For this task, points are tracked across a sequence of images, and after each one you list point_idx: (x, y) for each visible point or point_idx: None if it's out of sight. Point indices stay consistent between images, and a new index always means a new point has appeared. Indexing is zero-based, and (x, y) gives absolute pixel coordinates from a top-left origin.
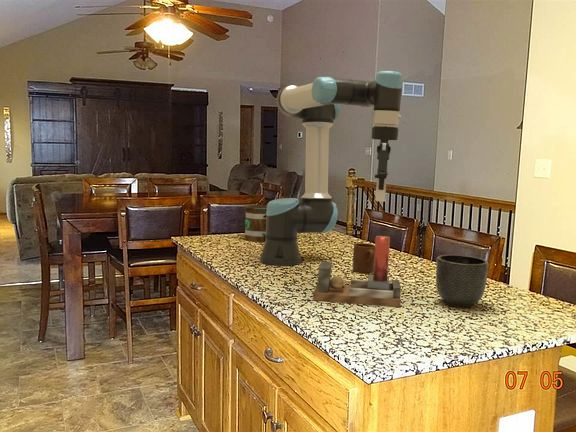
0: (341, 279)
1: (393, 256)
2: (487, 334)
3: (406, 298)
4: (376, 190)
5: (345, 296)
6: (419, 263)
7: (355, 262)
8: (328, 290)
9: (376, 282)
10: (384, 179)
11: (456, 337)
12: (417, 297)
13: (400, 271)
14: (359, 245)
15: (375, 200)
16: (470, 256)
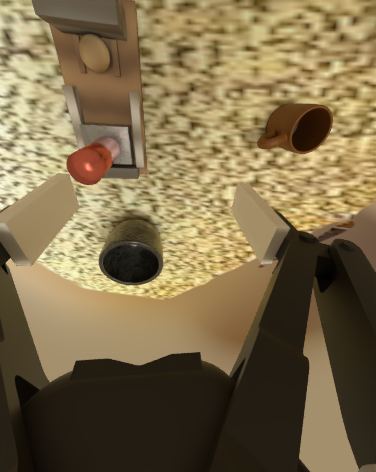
0: (88, 64)
1: (370, 182)
2: None
3: (137, 181)
4: (34, 192)
5: (63, 77)
6: (319, 212)
7: (285, 108)
8: (72, 33)
9: (83, 140)
10: (15, 254)
11: None
12: (147, 194)
13: (278, 185)
14: (328, 119)
15: (56, 174)
16: (156, 274)
